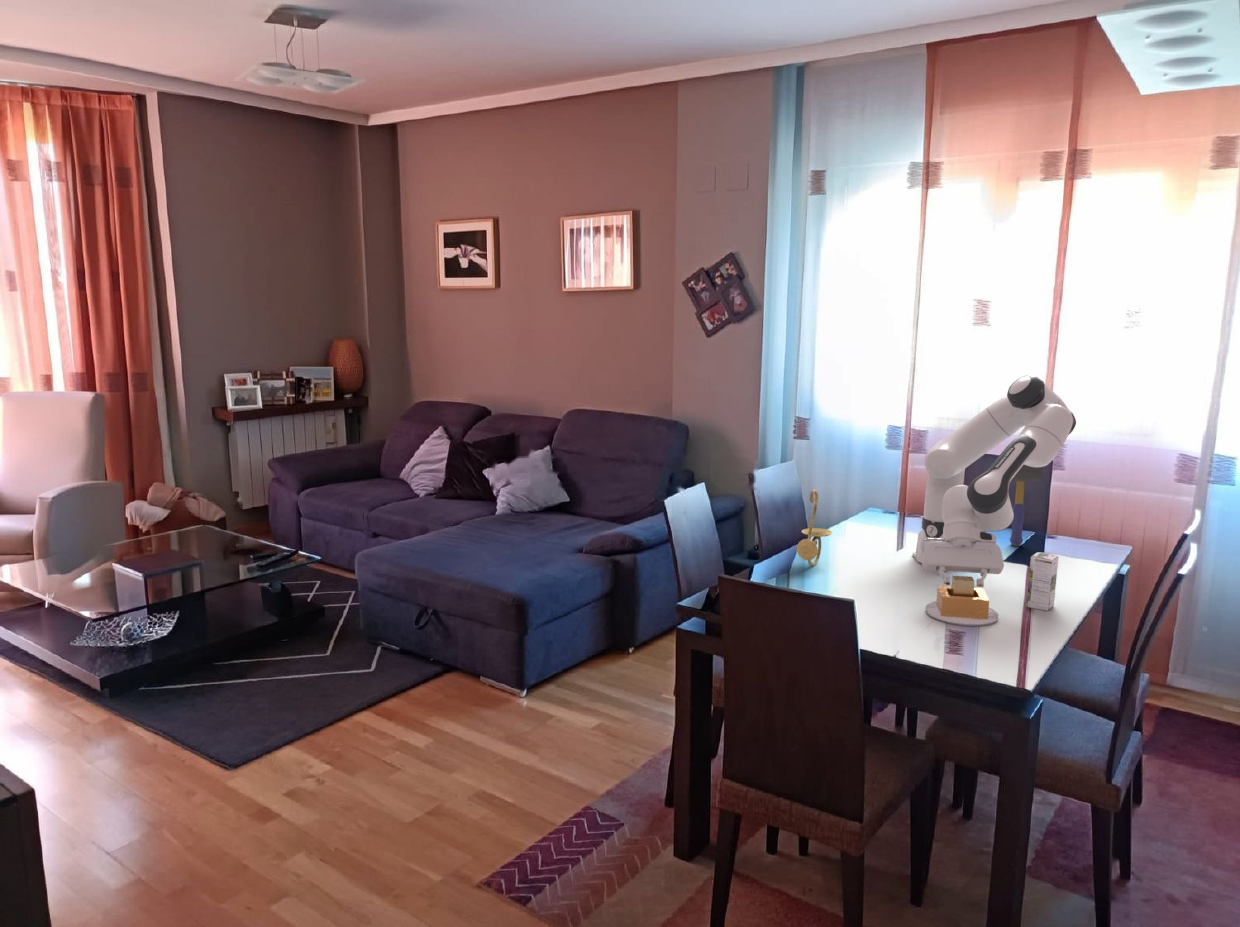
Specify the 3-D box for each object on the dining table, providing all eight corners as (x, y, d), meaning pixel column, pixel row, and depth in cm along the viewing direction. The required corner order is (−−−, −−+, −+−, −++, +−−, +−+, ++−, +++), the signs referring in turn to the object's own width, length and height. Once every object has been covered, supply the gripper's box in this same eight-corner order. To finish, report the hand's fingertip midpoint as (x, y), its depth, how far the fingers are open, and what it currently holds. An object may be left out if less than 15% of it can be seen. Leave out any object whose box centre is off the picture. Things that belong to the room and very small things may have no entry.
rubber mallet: (1033, 543, 304) (1040, 458, 299) (1037, 549, 297) (1044, 461, 292) (995, 541, 308) (1000, 456, 303) (997, 546, 301) (1004, 460, 296)
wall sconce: (821, 573, 271) (823, 494, 267) (791, 569, 276) (793, 491, 271) (834, 562, 283) (837, 486, 278) (806, 558, 288) (808, 483, 283)
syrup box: (1031, 601, 244) (1035, 551, 241) (1054, 606, 240) (1058, 554, 238) (1025, 607, 239) (1029, 555, 237) (1049, 611, 236) (1053, 559, 233)
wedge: (950, 607, 236) (952, 575, 234) (970, 608, 235) (972, 576, 233) (952, 612, 232) (954, 580, 231) (972, 613, 231) (974, 581, 230)
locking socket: (922, 601, 245) (923, 580, 243) (991, 606, 240) (993, 585, 239) (929, 623, 227) (930, 601, 226) (1003, 629, 223) (1005, 606, 222)
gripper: (921, 531, 239) (923, 576, 232) (1002, 535, 235) (1006, 581, 227) (919, 543, 244) (920, 587, 237) (998, 547, 240) (1002, 593, 232)
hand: (963, 585), depth 232 cm, fingers open, 7 cm apart
